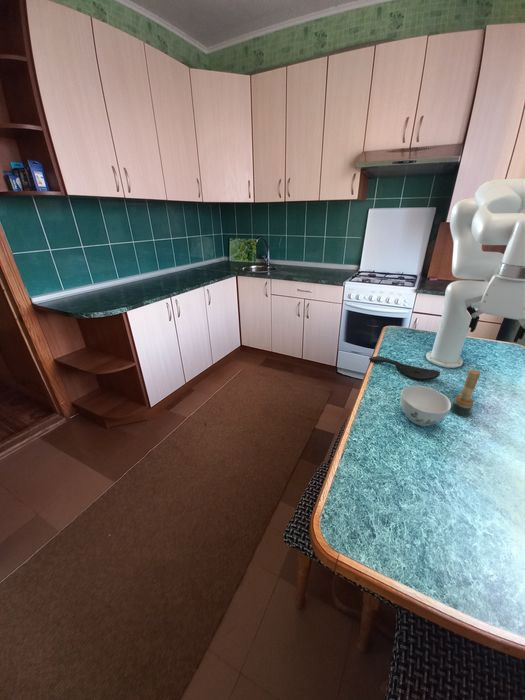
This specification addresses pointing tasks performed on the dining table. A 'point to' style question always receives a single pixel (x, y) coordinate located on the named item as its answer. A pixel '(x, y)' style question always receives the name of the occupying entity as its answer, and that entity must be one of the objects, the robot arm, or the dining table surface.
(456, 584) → the dining table surface
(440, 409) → the teacup
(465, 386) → the dish brush
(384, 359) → the hairbrush
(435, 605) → the dining table surface
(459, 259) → the robot arm
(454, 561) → the dining table surface
